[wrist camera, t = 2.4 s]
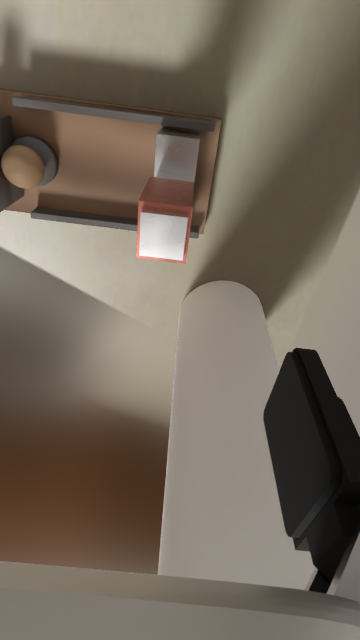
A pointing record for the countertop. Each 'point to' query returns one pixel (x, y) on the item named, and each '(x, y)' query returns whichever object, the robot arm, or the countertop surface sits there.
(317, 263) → the countertop surface
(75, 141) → the nutcracker board
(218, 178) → the countertop surface
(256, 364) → the cylinder container
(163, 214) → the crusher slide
